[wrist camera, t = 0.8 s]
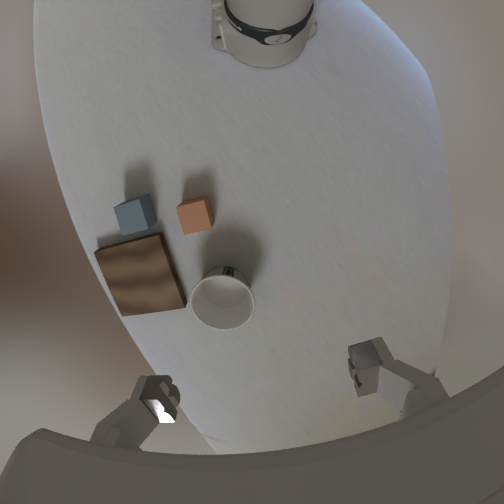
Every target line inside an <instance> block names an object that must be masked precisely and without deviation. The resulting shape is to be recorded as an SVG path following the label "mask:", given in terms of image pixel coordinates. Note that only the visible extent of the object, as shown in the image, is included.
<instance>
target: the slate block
mask: <svg viewBox="0 0 504 504" xmlns="http://www.w3.org/2000/svg"><path fill="white" fill-rule="evenodd" d="M114 210H115V214H116V217H117V220H118V223H119V226H120V229H121V232H122V235H123V236H124V235H128V234H132V233H135V232H139V231H143V230H146V229H149V228H150V227H151V226H152V225H154V224H155V223H156V222H157V218H156V215H155V212H154V208H153V205H152V202H151V198H150V195H149V194H147V195H144V196H140V197H137V198H134V199H131V200H128V201H125V202H123V203H121V204H119V205H117V206H115V207H114Z"/></svg>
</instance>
